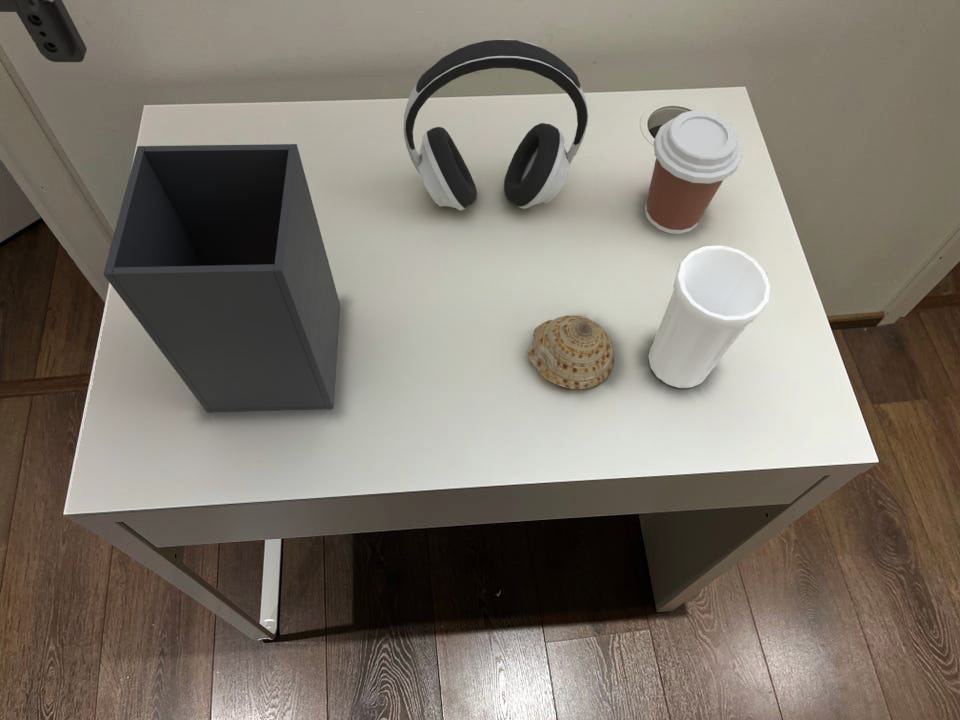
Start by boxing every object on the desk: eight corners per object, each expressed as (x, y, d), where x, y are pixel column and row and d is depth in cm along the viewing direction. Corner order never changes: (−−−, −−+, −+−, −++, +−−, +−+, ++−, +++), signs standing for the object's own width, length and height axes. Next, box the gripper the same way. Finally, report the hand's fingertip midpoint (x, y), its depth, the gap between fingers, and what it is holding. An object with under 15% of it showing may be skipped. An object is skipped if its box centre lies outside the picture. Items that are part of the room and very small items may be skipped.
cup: (622, 355, 72) (656, 273, 60) (677, 316, 75) (721, 229, 62) (678, 413, 69) (726, 338, 56) (734, 370, 72) (792, 289, 59)
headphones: (411, 227, 79) (397, 80, 62) (408, 172, 84) (395, 20, 66) (577, 219, 81) (610, 72, 63) (567, 165, 85) (594, 14, 67)
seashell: (515, 322, 71) (588, 290, 69) (531, 343, 76) (600, 314, 74) (538, 392, 67) (616, 360, 65) (554, 410, 72) (627, 381, 70)
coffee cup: (617, 201, 82) (641, 120, 72) (678, 172, 85) (709, 91, 74) (665, 254, 78) (697, 178, 68) (727, 223, 81) (767, 145, 70)
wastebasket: (206, 412, 68) (102, 274, 48) (223, 307, 74) (137, 145, 54) (333, 408, 68) (282, 270, 49) (340, 304, 74) (296, 143, 54)
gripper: (-132, -438, 30) (54, -61, 45) (-300, -304, 23) (-17, 92, 38) (45, -431, 31) (173, -59, 45) (-70, -297, 24) (125, 93, 38)
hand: (86, 10), depth 41 cm, fingers open, 8 cm apart
